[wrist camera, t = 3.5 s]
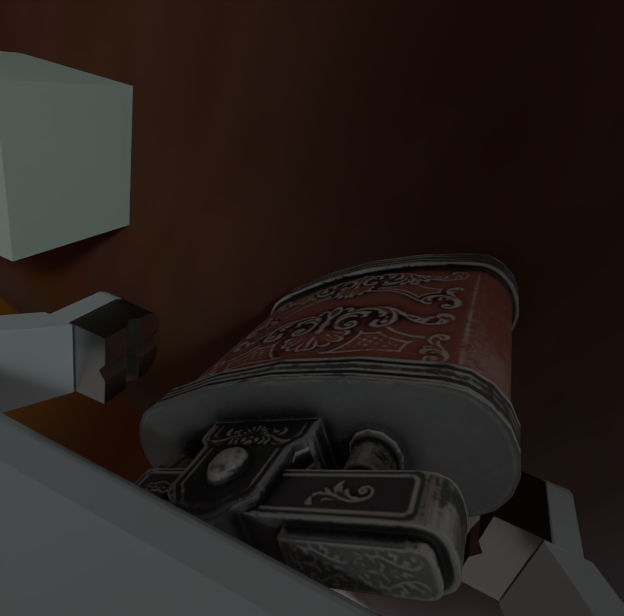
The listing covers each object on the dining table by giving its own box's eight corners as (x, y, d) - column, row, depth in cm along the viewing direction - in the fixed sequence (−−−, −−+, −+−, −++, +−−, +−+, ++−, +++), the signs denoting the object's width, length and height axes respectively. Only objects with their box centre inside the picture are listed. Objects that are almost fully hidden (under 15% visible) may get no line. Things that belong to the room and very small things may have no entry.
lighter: (296, 366, 18) (92, 610, 9) (267, 282, 17) (10, 469, 8) (528, 341, 14) (547, 710, 5) (508, 233, 13) (492, 475, 5)
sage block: (134, 86, 16) (-6, 80, 12) (130, 224, 18) (12, 261, 14) (23, 53, 17) (-140, 37, 13) (33, 187, 19) (-102, 210, 15)
